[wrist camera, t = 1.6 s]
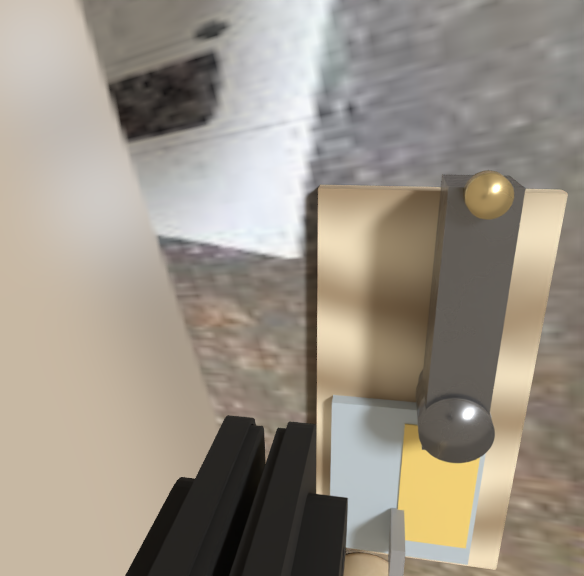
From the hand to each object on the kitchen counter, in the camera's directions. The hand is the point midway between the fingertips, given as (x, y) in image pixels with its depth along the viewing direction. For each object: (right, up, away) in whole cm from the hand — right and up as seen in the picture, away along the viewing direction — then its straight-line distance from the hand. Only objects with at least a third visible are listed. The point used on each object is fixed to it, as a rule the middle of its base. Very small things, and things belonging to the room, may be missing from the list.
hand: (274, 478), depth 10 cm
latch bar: (+9, +3, +16) cm, 18 cm away
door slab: (+7, -8, +22) cm, 24 cm away
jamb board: (+8, -2, +20) cm, 22 cm away
